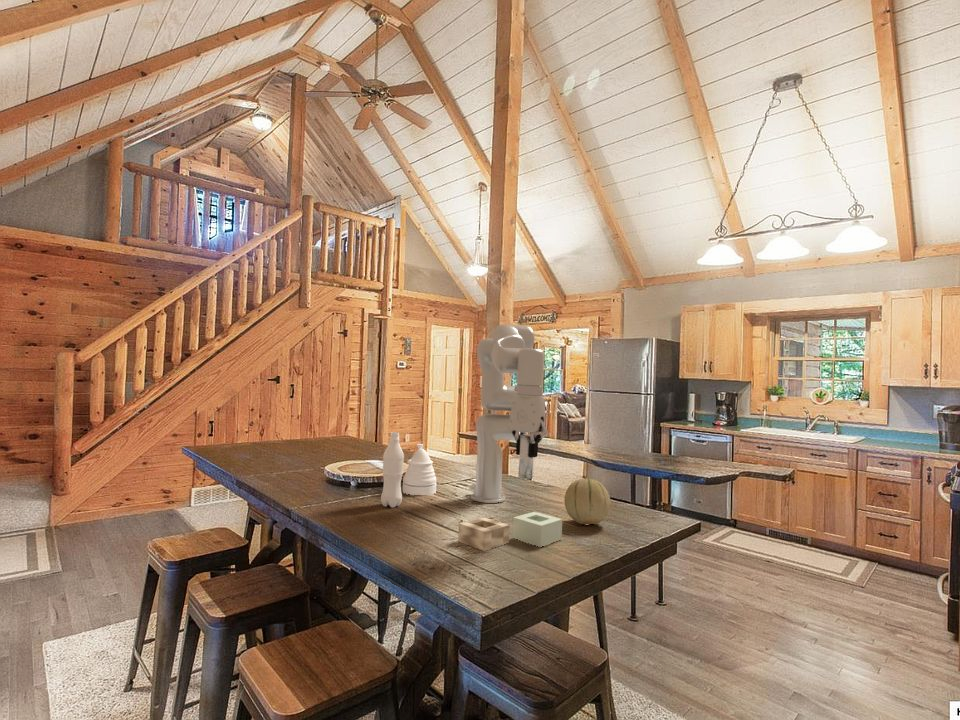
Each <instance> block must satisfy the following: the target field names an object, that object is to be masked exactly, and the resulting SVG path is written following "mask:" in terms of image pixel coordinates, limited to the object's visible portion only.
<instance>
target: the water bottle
mask: <svg viewBox="0 0 960 720" xmlns="http://www.w3.org/2000/svg"><path fill="white" fill-rule="evenodd" d="M389 436H390V437H389V443H388V445H387V447H386V448H385V450H384V452H383V456H382V472H381V473H382V477H383V488H382V493H381V495H380V500H381V504H382V506H383V507H388V506H389V507H390V508H396V507H399V506H401V503H402V500H403V494H402V489H401V488H402V487H401V485H402V482H401V481H402V479H403V478H402V477H403V475H404V463H405V462H404V461H405V453H404V451H403V449H402V447H401V445H400V432H396V431H391V432H390V435H389Z"/></svg>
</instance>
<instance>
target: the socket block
mask: <svg viewBox="0 0 960 720" xmlns="http://www.w3.org/2000/svg"><path fill="white" fill-rule="evenodd" d="M510 529H511V528H510V524H507V523H503V522H501V521H498V520H494V519H492V518H488V517H485V516H481V517H479V518H474V519H470V520H467V521H466V520H465V521H462V522H459V523H458V534H457V536H458V537H457V542H459V543H462V544H464V545H467V546H469V547H473V548H475V549H477V548H478V550H481V551H483V552H486V551H489V550H493V549H496V548H499V547H502V546H504V544H505V545H507V544H506V543H508V544H510ZM501 545H502V546H501ZM498 546H499V547H498ZM495 547H496V548H495ZM492 548H493V549H492Z"/></svg>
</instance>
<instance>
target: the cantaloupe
mask: <svg viewBox="0 0 960 720" xmlns="http://www.w3.org/2000/svg"><path fill="white" fill-rule="evenodd" d="M564 507H565V510H566V512H567V514H568V516H569V517H570V518H571V519H572V520H573V521H574V522H576V523H577V524H580V525H582V524H594V525H597V523H598V524H601V522H604V520H605V519H607V517H608V515H609V513H610V509H611V496H610V493H609V491H608V490H607V488H606V487H605V486H604V484H602V482H600V481H598V480H596V479H592V478H588V476H586V475H582V477H581V479H580V478H579V479H577V480H576V479H575V480H574V481H573V482H571V483H570V484H569V486H568V487H567V489H566V491H565V495H564Z"/></svg>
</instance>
